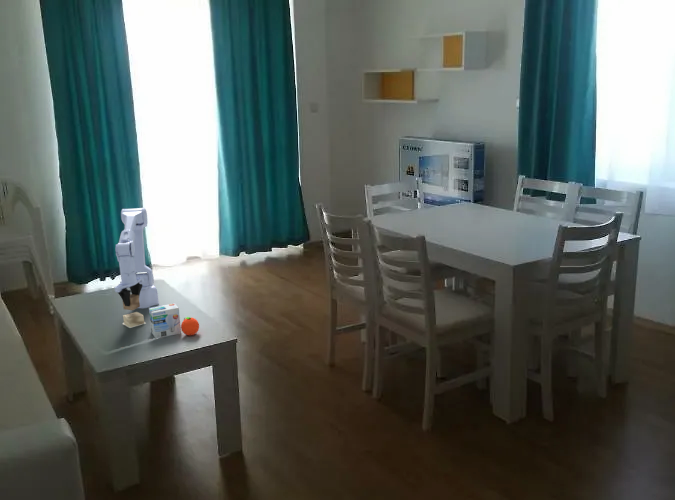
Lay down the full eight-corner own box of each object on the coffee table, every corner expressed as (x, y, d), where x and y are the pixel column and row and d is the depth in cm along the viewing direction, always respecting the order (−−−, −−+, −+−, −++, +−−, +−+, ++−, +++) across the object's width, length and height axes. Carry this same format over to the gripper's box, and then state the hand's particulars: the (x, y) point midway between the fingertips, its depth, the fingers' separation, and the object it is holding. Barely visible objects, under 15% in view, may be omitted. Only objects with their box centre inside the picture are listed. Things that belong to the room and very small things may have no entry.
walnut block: (131, 305, 271) (129, 294, 269) (139, 306, 269) (138, 295, 268) (123, 309, 267) (122, 297, 265) (132, 310, 265) (130, 298, 264)
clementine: (176, 334, 258) (175, 317, 256) (192, 329, 263) (190, 312, 261) (188, 339, 252) (186, 322, 251) (203, 334, 257) (201, 317, 255)
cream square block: (137, 319, 273) (136, 311, 273) (144, 323, 269) (143, 315, 268) (124, 323, 270) (123, 315, 269) (130, 327, 265) (129, 319, 264)
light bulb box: (154, 339, 254) (151, 312, 252) (150, 333, 260) (147, 307, 257) (182, 333, 259) (179, 307, 256) (177, 328, 265) (175, 302, 262)
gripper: (132, 266, 272) (136, 297, 275) (107, 275, 259) (111, 308, 263) (145, 267, 269) (149, 299, 272) (120, 277, 256) (125, 310, 260)
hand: (131, 303), depth 267 cm, fingers closed on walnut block, 4 cm apart
